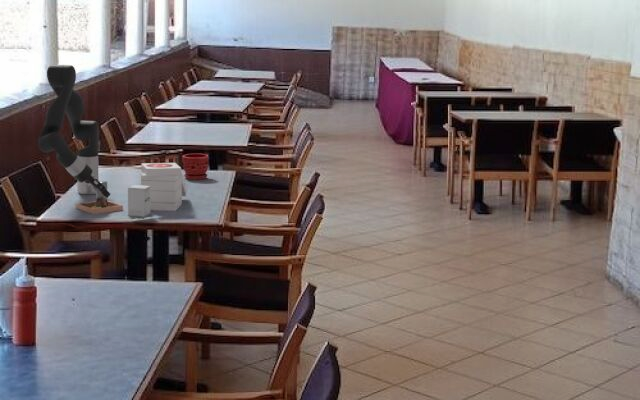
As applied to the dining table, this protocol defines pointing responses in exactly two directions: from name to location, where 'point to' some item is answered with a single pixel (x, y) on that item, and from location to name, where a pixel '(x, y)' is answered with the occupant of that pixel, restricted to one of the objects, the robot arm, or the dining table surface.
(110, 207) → the tray
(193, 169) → the plant pot
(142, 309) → the dining table surface
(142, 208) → the supplement box
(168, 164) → the pizza boxes
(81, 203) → the walnut block
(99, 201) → the disc
